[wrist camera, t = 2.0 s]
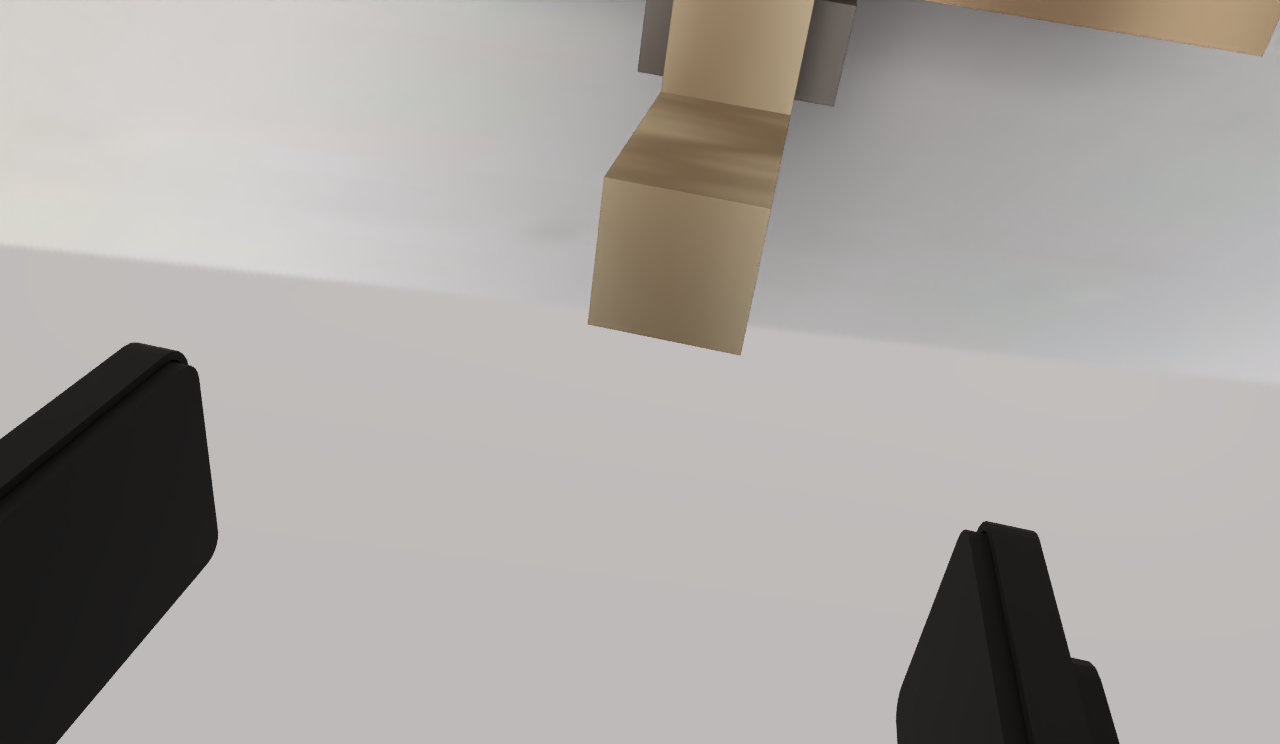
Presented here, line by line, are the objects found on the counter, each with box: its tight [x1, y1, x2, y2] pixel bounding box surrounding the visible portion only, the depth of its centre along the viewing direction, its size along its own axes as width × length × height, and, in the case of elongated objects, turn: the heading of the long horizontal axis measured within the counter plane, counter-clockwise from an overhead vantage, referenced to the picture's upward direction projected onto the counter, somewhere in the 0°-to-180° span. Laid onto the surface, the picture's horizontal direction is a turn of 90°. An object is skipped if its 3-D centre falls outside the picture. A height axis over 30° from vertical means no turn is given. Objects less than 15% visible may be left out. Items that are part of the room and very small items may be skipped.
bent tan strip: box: [588, 0, 814, 355], centre depth 20 cm, size 3×9×8 cm, turn 172°
